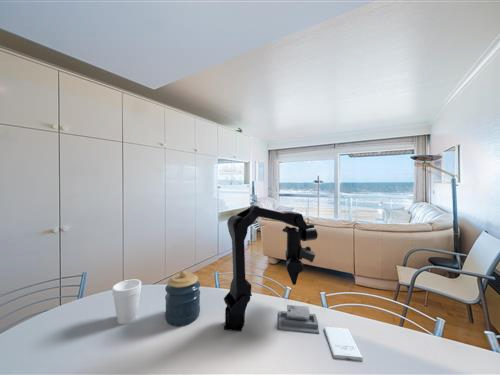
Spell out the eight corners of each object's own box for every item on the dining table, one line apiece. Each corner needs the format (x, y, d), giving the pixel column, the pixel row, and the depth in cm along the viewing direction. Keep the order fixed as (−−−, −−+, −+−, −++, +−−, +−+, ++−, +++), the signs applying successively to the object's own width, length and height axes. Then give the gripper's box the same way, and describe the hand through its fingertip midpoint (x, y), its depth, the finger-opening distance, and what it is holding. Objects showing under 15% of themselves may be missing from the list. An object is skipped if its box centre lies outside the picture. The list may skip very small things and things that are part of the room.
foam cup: (106, 323, 77) (106, 287, 77) (129, 309, 85) (129, 277, 85) (124, 329, 73) (124, 293, 73) (146, 314, 82) (146, 281, 82)
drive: (287, 321, 77) (287, 308, 77) (286, 317, 80) (287, 304, 80) (309, 324, 76) (309, 310, 76) (308, 319, 79) (308, 306, 79)
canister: (157, 322, 77) (157, 274, 77) (180, 303, 90) (180, 262, 89) (186, 330, 73) (186, 280, 73) (206, 310, 85) (206, 267, 85)
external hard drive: (348, 333, 73) (362, 362, 61) (324, 331, 74) (333, 359, 62) (348, 328, 73) (362, 356, 61) (324, 326, 74) (333, 354, 62)
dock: (278, 329, 74) (278, 324, 74) (278, 312, 84) (278, 308, 84) (319, 333, 72) (319, 328, 72) (315, 315, 82) (315, 311, 82)
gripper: (317, 250, 76) (317, 292, 77) (310, 237, 95) (310, 271, 95) (287, 248, 78) (286, 289, 78) (285, 236, 96) (285, 270, 97)
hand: (293, 279), depth 87 cm, fingers open, 9 cm apart
